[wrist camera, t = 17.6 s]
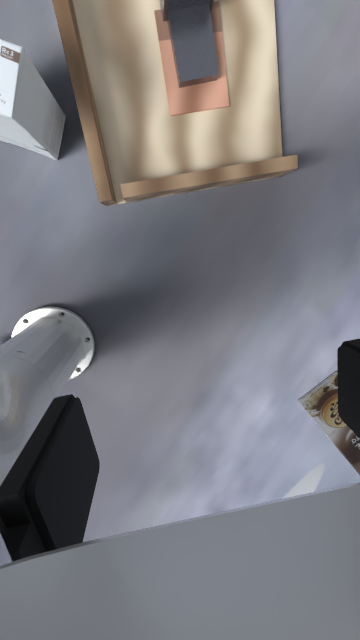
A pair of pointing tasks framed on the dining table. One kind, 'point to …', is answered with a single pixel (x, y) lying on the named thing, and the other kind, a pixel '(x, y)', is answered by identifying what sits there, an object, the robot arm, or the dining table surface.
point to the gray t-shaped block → (191, 40)
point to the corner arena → (173, 99)
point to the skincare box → (27, 104)
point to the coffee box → (332, 418)
